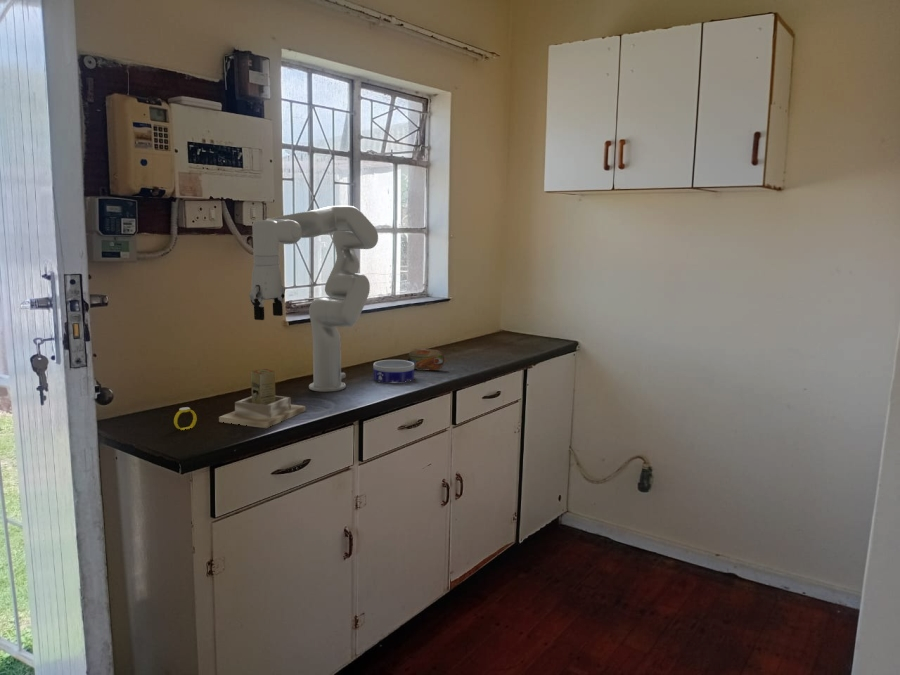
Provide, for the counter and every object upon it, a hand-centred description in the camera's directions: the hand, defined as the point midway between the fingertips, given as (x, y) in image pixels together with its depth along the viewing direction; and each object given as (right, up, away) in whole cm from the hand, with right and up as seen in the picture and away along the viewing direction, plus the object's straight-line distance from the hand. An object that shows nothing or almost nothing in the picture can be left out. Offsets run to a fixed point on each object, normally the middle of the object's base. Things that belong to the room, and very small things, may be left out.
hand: (268, 317), depth 209 cm
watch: (-17, -32, -21) cm, 42 cm away
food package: (+46, -19, +63) cm, 80 cm away
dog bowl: (+35, -22, +46) cm, 61 cm away
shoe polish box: (+1, -28, -7) cm, 29 cm away
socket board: (0, -29, -7) cm, 30 cm away
